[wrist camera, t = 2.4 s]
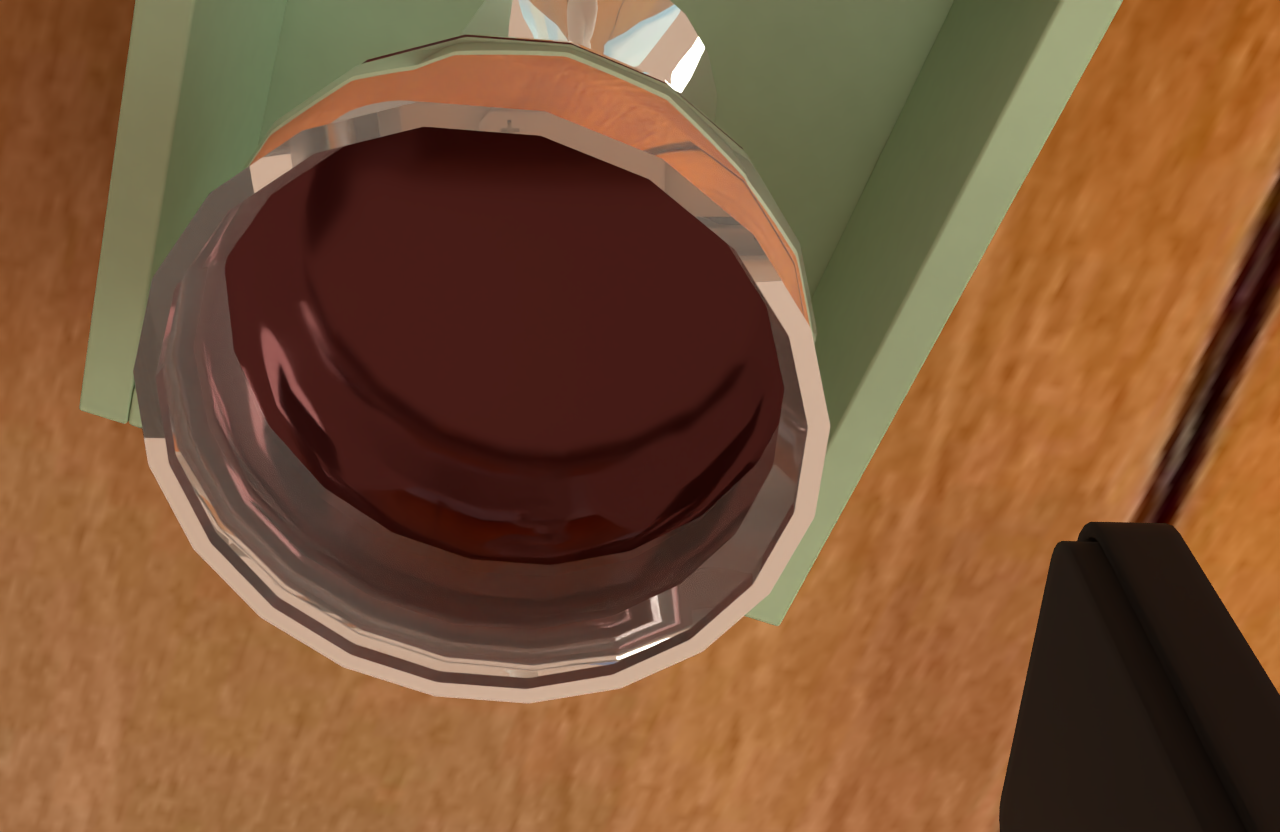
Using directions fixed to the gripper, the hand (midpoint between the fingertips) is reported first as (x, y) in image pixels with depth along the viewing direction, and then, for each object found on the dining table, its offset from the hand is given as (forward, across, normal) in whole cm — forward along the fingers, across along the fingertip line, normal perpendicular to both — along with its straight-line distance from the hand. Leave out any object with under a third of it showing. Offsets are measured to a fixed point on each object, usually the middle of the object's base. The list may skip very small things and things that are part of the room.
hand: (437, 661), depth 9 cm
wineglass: (+15, 0, 0) cm, 15 cm away
